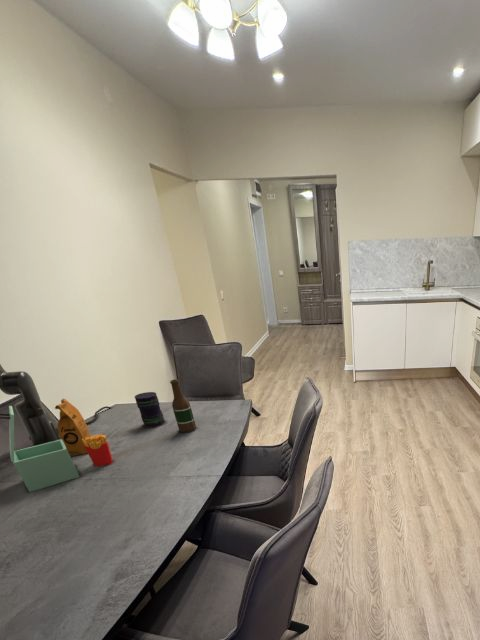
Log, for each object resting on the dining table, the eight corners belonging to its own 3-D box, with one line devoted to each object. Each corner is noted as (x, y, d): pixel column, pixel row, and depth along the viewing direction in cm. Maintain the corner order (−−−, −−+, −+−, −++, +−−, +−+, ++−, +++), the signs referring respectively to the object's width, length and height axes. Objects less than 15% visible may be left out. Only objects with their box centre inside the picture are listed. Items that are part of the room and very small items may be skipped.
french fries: (91, 467, 156) (80, 440, 151) (94, 463, 160) (82, 436, 154) (115, 463, 159) (104, 436, 153) (116, 459, 162) (106, 432, 156)
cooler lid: (12, 406, 139) (-10, 404, 135) (13, 414, 131) (-10, 413, 127) (12, 450, 144) (-9, 450, 140) (14, 461, 135) (-8, 461, 131)
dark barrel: (169, 421, 199) (160, 393, 191) (153, 428, 191) (143, 399, 184) (155, 419, 203) (146, 391, 195) (139, 426, 195) (129, 397, 188)
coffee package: (64, 457, 166) (41, 408, 155) (73, 446, 176) (52, 399, 165) (90, 453, 168) (69, 404, 157) (98, 442, 178) (78, 396, 167)
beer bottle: (199, 427, 190) (186, 378, 178) (188, 433, 184) (174, 383, 172) (187, 425, 193) (173, 377, 181) (175, 431, 186) (160, 382, 174)
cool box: (74, 465, 158) (61, 439, 152) (79, 476, 150) (66, 448, 144) (26, 479, 150) (11, 451, 144) (29, 492, 141) (13, 462, 135)
